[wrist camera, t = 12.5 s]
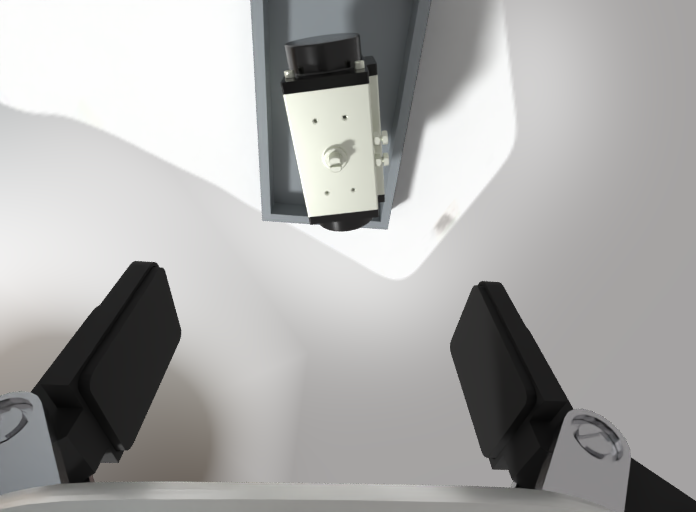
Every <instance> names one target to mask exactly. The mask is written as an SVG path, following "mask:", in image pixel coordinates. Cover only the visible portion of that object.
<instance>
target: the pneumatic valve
mask: <svg viewBox="0 0 696 512" xmlns="http://www.w3.org/2000/svg"><path fill="white" fill-rule="evenodd" d="M284 47H285V52H286V58H287V63H288V68H289V70H286V71H284V74H285V76H284V77H283V79H282V81H281V82H280V84H281V88H282V93H283V98H284V103H285V108H286V112H287V117H288V122H289V127H290V131H291V136H292V141H293V146H294V151H295V155H296V160H297V165H298V170H299V175H300V179H301V184H302V189H303V194H304V198H305V203H306V208H307V213H308V218H309V222H310V225H313V224H320V225H321V226H322V227H323V228H325V229H328V230H332V231H351V230H355V229H358V228H361V227H363V226H365V225H366V224H368V223H369V222H370V221H371V220H372V219H373V218H376V217H379V209H378V203H381V202H385V192H384V175H383V164H384V166H388V165H389V155H388V153H383V157H382V144H383V145H386V144H388V134H387V131H386V130H385V131H382V132H381V124H380V107H379V90H378V73H377V62H376V61H375V59H374V57H373V56H365V57H363V55H362V53H361V41H360V34H358V33H337V34H328V35H320V36H314V37H308V38H303V39H298V40H294V41H291V42H288V43H286V44H285V45H284Z"/></svg>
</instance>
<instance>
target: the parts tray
mask: <svg viewBox="0 0 696 512" xmlns="http://www.w3.org/2000/svg"><path fill="white" fill-rule="evenodd" d="M250 1H251V19H252V38H253V56H254V75H255V93H256V112H257V130H258V149H259V167H260V186H261V204H262V220H263V221H273V222H274V221H275V222H288V223H302V224H310V222H309V218H308V213H307V208H306V203H305V198H304V194H303V189H302V184H301V179H300V175H299V170H298V165H297V160H296V155H295V151H294V146H293V141H292V136H291V131H290V127H289V122H288V117H287V112H286V108H285V103H284V98H283V93H282V88H281V84H280V82H281V81H282V79H283V77H284V76H285V74H284V71H286V70H289V68H288V63H287V58H286V52H285V47H284V45H285V44H286V43H288V42H291V41H294V40H298V39H303V38H308V37H314V36H320V35H328V34H337V33H358V34H360V41H361V53H362V55H363V57H365V56H373V57H374V59H375V61H376V62H377V73H378V90H379V107H380V124H381V132H382V131H385V130H386V131H387V134H388V144H386V145H383V144H382V157H383V153H388V155H389V165H388V166H384V164H383V175H384V192H385V202H381V203H378V209H379V217H376V218H373V219H372V220H371V221H370V222H369V223H368V224H366V225H365V226H363V227H361V228H373V229H388V224H389V219H390V214H391V209H392V203H393V198H394V193H395V188H396V182H397V177H398V172H399V167H400V161H401V156H402V151H403V146H404V140H405V135H406V130H407V125H408V120H409V114H410V109H411V104H412V99H413V93H414V88H415V83H416V78H417V72H418V67H419V62H420V57H421V52H422V46H423V41H424V36H425V31H426V25H427V20H428V15H429V10H430V4H431V0H250ZM316 225H320V224H316Z"/></svg>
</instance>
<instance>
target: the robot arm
mask: <svg viewBox="0 0 696 512" xmlns="http://www.w3.org/2000/svg"><path fill="white" fill-rule="evenodd" d="M180 337H181V327H180V324H179V320H178V317H177V313H176V309H175V306H174V302H173V299H172V295H171V291H170V287H169V284H168V281H167V276H166V273H165V270H164V269H163V268H160V267H159V266H158V264H157V263H155V262H142V261H134V262H132V264H131V265H130V266H129V267H128V268H127V270H126V271H125V272H124V274H123V275H122V276H121V278H120V279H119V281H118V282H117V283H116V284H115V286H114V287H113V288H112V290H111V291H110V292H109V294H108V295H107V296H106V298H105V299H104V300H103V302H102V303H101V304H100V305H99V306H98V307H96V308H95V309H94V310H93V311H92V313H91V314H90V315H89V316H88V318H87V319H86V320H85V322H84V323H83V324H82V326H81V327H80V328H79V329H78V331H77V332H76V333H75V335H74V336H73V337H72V339H71V340H70V341H69V343H68V344H67V345H66V347H65V348H64V349H63V351H62V352H61V353H60V354H59V356H58V357H57V358H56V360H55V361H54V362H53V364H52V365H51V366H50V368H49V369H48V370H47V371H46V373H45V374H44V375H43V377H42V378H41V379H40V381H39V382H38V383H37V385H36V386H35V387H34V389H33V390H32V391H31V392H24V391H19V392H12V393H7V394H4V395H1V396H0V512H696V501H695V500H693V499H692V498H690V497H689V496H688V495H686V494H684V493H683V492H682V491H680V490H679V489H677V488H676V487H674V486H673V485H671V484H670V483H668V482H667V481H665V480H664V479H662V478H661V477H659V476H658V475H656V474H655V473H653V472H652V471H650V470H649V469H647V468H646V467H644V466H643V465H641V464H640V463H638V462H637V461H635V460H634V459H632V458H631V453H630V448H629V445H628V443H627V441H626V439H625V438H624V437H623V435H622V433H621V432H620V431H619V430H618V429H617V428H616V427H615V426H614V425H613V424H612V423H611V422H610V421H608V420H607V419H606V418H604V417H603V416H601V415H599V414H596V413H595V412H593V411H589V410H585V409H573V408H572V406H571V404H570V402H569V400H568V399H567V397H566V395H565V393H564V392H563V390H562V388H561V386H560V385H559V383H558V381H557V379H556V377H555V375H554V374H553V372H552V370H551V368H550V367H549V365H548V363H547V361H546V359H545V358H544V356H543V354H542V352H541V351H540V349H539V347H538V345H537V343H536V342H535V340H534V338H533V336H532V334H531V333H530V331H529V330H528V328H527V327H526V326H525V324H524V323H523V321H522V319H521V317H520V315H519V314H518V312H517V310H516V308H515V306H514V305H513V303H512V301H511V299H510V298H509V296H508V294H507V292H506V290H505V288H504V287H503V285H502V284H501V283H499V282H487V281H486V282H485V281H482V282H480V283H479V284H478V286H477V285H476V286H474V287H473V288H472V290H471V293H470V295H469V297H468V300H467V303H466V305H465V307H464V310H463V312H462V315H461V317H460V320H459V323H458V325H457V327H456V330H455V332H454V335H453V337H452V340H451V343H450V351H451V355H452V358H453V361H454V364H455V367H456V371H457V374H458V377H459V380H460V383H461V387H462V390H463V393H464V396H465V399H466V402H467V406H468V409H469V413H470V415H471V419H472V422H473V425H474V429H475V432H476V435H477V438H478V441H479V445H480V448H481V451H482V453H483V455H484V456H485V457H487V458H489V460H490V464H491V467H492V469H498V470H499V469H500V470H509V473H510V475H511V478H512V480H513V483H512V485H511V488H504V487H479V486H443V485H442V486H440V485H389V484H329V483H327V484H326V483H325V484H323V483H253V482H252V483H250V482H248V483H247V482H246V483H245V482H95V480H94V477H93V474H94V473H95V472H96V470H97V468H98V466H99V464H100V463H119V460H120V458H121V456H122V454H123V452H124V450H129V449H130V448H131V446H132V445H133V443H134V441H135V439H136V436H137V434H138V432H139V430H140V428H141V425H142V423H143V421H144V419H145V416H146V414H147V412H148V410H149V407H150V405H151V403H152V400H153V399H154V396H155V394H156V392H157V390H158V388H159V385H160V383H161V381H162V379H163V376H164V374H165V372H166V370H167V368H168V365H169V363H170V361H171V359H172V356H173V354H174V352H175V349H176V348H177V345H178V343H179V341H180Z"/></svg>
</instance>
